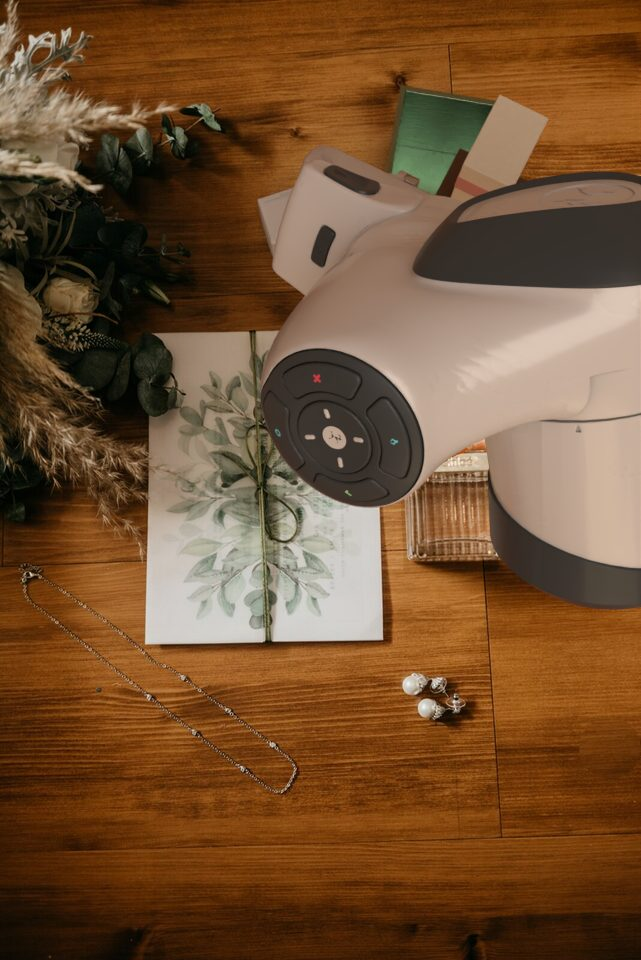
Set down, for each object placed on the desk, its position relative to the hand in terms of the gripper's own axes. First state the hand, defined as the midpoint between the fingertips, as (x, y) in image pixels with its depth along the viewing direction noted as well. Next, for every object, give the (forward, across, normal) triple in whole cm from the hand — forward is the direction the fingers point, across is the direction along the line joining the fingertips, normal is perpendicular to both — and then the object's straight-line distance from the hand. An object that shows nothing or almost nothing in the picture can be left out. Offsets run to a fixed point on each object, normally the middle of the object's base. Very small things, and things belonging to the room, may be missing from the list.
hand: (467, 215), depth 49 cm
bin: (+36, +6, +11) cm, 38 cm away
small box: (+28, +19, +20) cm, 39 cm away
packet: (+13, 0, +2) cm, 13 cm away
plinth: (+29, 0, +19) cm, 34 cm away
